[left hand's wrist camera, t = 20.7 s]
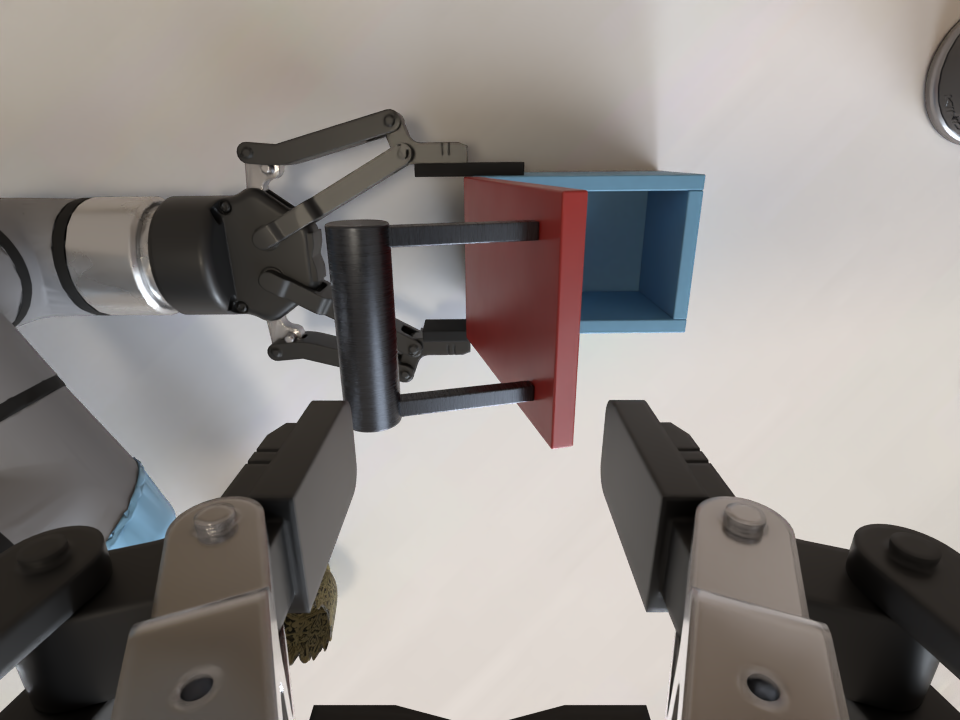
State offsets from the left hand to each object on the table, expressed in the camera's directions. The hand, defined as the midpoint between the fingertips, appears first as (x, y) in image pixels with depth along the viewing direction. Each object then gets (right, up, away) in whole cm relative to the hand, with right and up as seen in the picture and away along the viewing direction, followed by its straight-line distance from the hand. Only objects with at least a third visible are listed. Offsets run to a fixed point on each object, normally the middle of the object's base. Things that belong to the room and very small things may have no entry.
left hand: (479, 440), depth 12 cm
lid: (+2, +5, +15) cm, 16 cm away
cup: (-16, -18, +40) cm, 47 cm away
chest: (+6, +11, +30) cm, 32 cm away
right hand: (+3, +9, +24) cm, 25 cm away
